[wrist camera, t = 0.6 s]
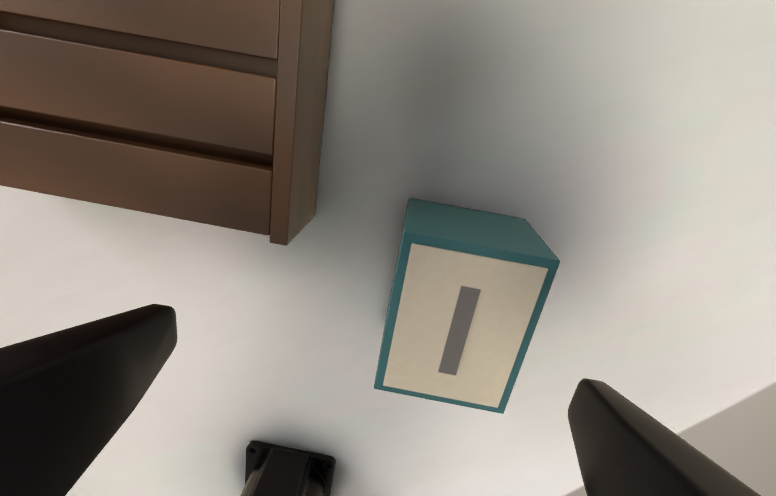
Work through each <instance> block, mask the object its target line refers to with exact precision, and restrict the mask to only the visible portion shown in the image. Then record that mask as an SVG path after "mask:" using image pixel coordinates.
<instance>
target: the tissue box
mask: <svg viewBox="0 0 776 496" xmlns="http://www.w3.org/2000/svg"><path fill="white" fill-rule="evenodd" d="M559 263H560V260H559V259H558V258H557V257H556V255H555V254H554V253H553V252H552V251H551V250H550V248H549V247H548V246H547V245H546V244H545V242H544V241H543V240H542V239H541V238H540V236H539V235H538V234H537V233H536V232H535V230H534V229H533V228H532V227H531V226H530V225H529V223H528V222H527V221H526V220H525V219H521V218H516V217H510V216H505V215H500V214H494V213H489V212H483V211H478V210H472V209H467V208H461V207H456V206H450V205H445V204H440V203H434V202H429V201H423V200H418V199H412V198H409V200H408V205H407V211H406V216H405V221H404V226H403V232H402V237H401V242H400V248H399V253H398V258H397V263H396V269H395V274H394V279H393V284H392V290H391V295H390V300H389V305H388V311H387V316H386V321H385V327H384V332H383V338H382V344H381V350H380V355H379V361H378V367H377V372H376V378H375V384H374V388H375V389H379V390H384V391H389V392H395V393H400V394H405V395H410V396H415V397H420V398H425V399H430V400H435V401H441V402H446V403H451V404H456V405H461V406H466V407H471V408H476V409H481V410H487V411H492V412H497V413H502V414H503V413H504V410H505V408H506V405H507V402H508V400H509V397H510V394H511V392H512V389H513V386H514V384H515V381H516V378H517V375H518V373H519V370H520V367H521V365H522V362H523V359H524V357H525V354H526V351H527V349H528V346H529V343H530V341H531V338H532V335H533V333H534V330H535V327H536V325H537V322H538V319H539V317H540V314H541V311H542V309H543V306H544V303H545V300H546V298H547V295H548V292H549V290H550V287H551V284H552V282H553V279H554V276H555V274H556V271H557V268H558V266H559Z"/></svg>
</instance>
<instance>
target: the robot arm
mask: <svg viewBox="0 0 776 496" xmlns="http://www.w3.org/2000/svg"><path fill="white" fill-rule="evenodd" d="M176 343H177V326H176V313H175V310H174V309H173V308H172V307H170V306H165V305H159V304H151V305H148V306H144V307H141V308H137V309H134V310H130V311H127V312H123V313H120V314H117V315H113V316H110V317H106V318H103V319H99V320H96V321H92V322H89V323H85V324H82V325H79V326H75V327H72V328H68V329H65V330H61V331H58V332H54V333H51V334H48V335H44V336H41V337H37V338H34V339H30V340H27V341H23V342H20V343H16V344H13V345H10V346H6V347H3V348H0V496H65V495H66V494H67V493H68V491H69V490H70V489H71V488H72V487H73V485H74V484H75V483H76V482H77V480H78V479H79V478H80V477H81V475H82V474H83V473H84V472H85V470H86V469H87V468H88V467H89V465H90V464H91V463H92V462H93V460H94V459H95V458H96V457H97V455H98V454H99V453H100V452H101V450H102V449H103V448H104V447H105V445H106V444H107V443H108V442H109V441H110V439H111V438H112V437H113V436H114V434H115V433H116V432H117V431H118V429H119V428H120V427H121V426H122V424H123V423H124V422H125V421H126V419H127V418H128V417H129V415H130V414H131V413H132V411H133V410H134V409H135V407H136V406H137V405H138V403H139V402H140V400H141V399H142V397H143V396H144V394H145V393H146V391H147V390H148V388H149V387H150V385H151V384H152V382H153V381H154V379H155V378H156V376H157V374H158V373H159V371H160V370H161V368H162V367H163V365H164V364H165V362H166V361H167V359H168V358H169V356H170V355H171V353H172V352H173V350H174V348H175V346H176ZM568 419H569V424H570V428H571V432H572V436H573V441H574V445H575V449H576V453H577V457H578V462H579V466H580V470H581V474H582V479H583V482H584V486H585V490H586V493H587V496H760V495H759V494H758V493H756V492H755V491H754V490H752V489H751V488H749V487H748V486H746V485H745V484H744V483H743V482H741V481H740V480H738V479H737V478H736V477H734V476H733V475H731V474H730V473H729V472H727V471H726V470H725V469H723V468H722V467H720V466H719V465H718V464H716V463H715V462H714V461H712V460H711V459H709V458H708V457H706V456H705V455H704V454H702V453H701V452H700V451H698V450H697V449H695V448H694V447H693V446H691V445H690V444H688V443H687V442H686V441H685V440H683V439H682V438H680V437H679V436H678V435H676V434H675V433H673V432H672V431H671V430H669V429H668V428H667V427H665V426H664V425H662V424H661V423H660V422H658V421H657V420H656V419H654V418H653V417H651V416H650V415H649V414H647V413H646V412H644V411H643V410H642V409H640V408H639V407H638V406H636V405H635V404H633V403H632V402H631V401H629V400H628V399H627V398H625V397H624V396H622V395H621V394H620V393H618V392H617V391H615V390H614V389H613V388H611V387H610V386H609V385H607V384H606V383H604V382H602V381H597V380H592V379H582V380H581V381H580V382H579V384H578V386H577V389H576V391H575V393H574V396H573V398H572V401H571V403H570V405H569V409H568ZM335 463H336V460H335V459H334V458H333V457H332V456H328V455H323V454H318V453H313V452H308V451H303V450H298V449H293V448H288V447H283V446H278V445H273V444H268V443H263V442H258V441H251V442H250V443H249V444H248V446H247V449H246V478H245V487H244V489H243V491H242V493H241V496H330V495H331V489H332V482H333V476H334V470H335Z"/></svg>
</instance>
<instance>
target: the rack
mask: <svg viewBox="0 0 776 496" xmlns="http://www.w3.org/2000/svg"><path fill="white" fill-rule="evenodd" d="M333 11H334V0H0V185H2V186H7V187H13V188H18V189H23V190H29V191H34V192H39V193H45V194H50V195H55V196H61V197H66V198H71V199H77V200H82V201H87V202H93V203H98V204H103V205H109V206H114V207H119V208H125V209H130V210H135V211H141V212H146V213H151V214H157V215H162V216H167V217H173V218H178V219H183V220H189V221H194V222H199V223H205V224H210V225H215V226H221V227H226V228H231V229H237V230H242V231H247V232H253V233H258V234H263V235H270V243H275V244H281V245H288V244H289V243H290V242H291V240H292V239H293V238H294V237H295V236H296V235H297V234H298V233H299V232H300V231H301V230H302V229H303V228H304V227H305V226H306V225H307V224H308V222H309V221H310V220H311V219H312V218H313V217H314V216H315V205H316V194H317V184H318V173H319V162H320V151H321V140H322V130H323V119H324V108H325V97H326V86H327V76H328V65H329V54H330V43H331V32H332V22H333Z"/></svg>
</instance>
